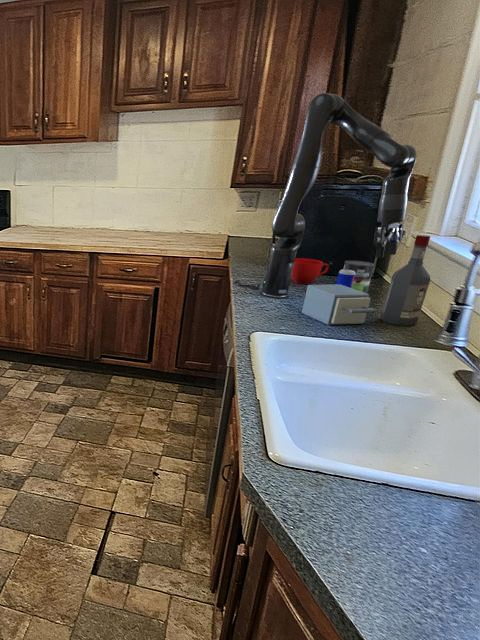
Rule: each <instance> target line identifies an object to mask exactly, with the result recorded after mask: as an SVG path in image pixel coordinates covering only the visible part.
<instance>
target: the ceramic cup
mask: <svg viewBox="0 0 480 640" xmlns="http://www.w3.org/2000/svg"><path fill="white" fill-rule="evenodd" d="M323 266H326V268H325V270H324V271H322V269H323ZM329 269H330V265H329V264H328V263H324V262H323V261H322V260H318V259H315V258H314V259H313V258H304V257H303V258H301V257H299V258H297V257H295V261H294V266H293V271H292V275H291V280H292V281H293V283H294V284H299V285H311V284H312V283H313V282H314V281H315V280H317V278H318V277H319V276H322V275H324V274H326V273H327V272H328V270H329ZM321 271H322V272H321Z"/></svg>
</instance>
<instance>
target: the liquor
mask: <svg viewBox="0 0 480 640" xmlns="http://www.w3.org/2000/svg"><path fill="white" fill-rule="evenodd" d="M430 239H431V236H430V235H425V234H417V235H416V237H415V240H414V244H413V249H412V252H411V255H410V257H409V260H408V261H407V264H405V265H403V266H402V267H400V268H399V269H398V270H396V271H394V273H393V274H392V275H391V278H390V282H389V286H388V289H387V290H388V291H387V293H386V297H385V299H384V302H383V303H384V304H383V307H382V310H381V313H380V319H381V321H382V322H384V323H387V324H390V325H395V326H399V327H400V326H402V327H408V326H414V325H416V324H417V323H418V321H419V317H420V314H421V311H422V307H423V305H424V301H425V299H426V296H427V292H428V290H429V289H428V288H429V285H430V282H431V275H430V274H429V273H428V271H427V270H426V268H425V267H424V258H425V254H426V251H427V247H428V246H429V243H430Z"/></svg>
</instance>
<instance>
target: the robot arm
mask: <svg viewBox="0 0 480 640" xmlns="http://www.w3.org/2000/svg"><path fill="white" fill-rule="evenodd" d="M328 123H330V124H333V125H335V126H337V127H339V128H341V129H342V130H344V132H346V133H347V134H348V135H349V136H350V137H351V139H352V140H353V141H354V142H355V143H356V144H358V145H359V146H361V147H362V148H364V149H365V150H366V151H368V152H369V153H371V154H372V155H373V156H374V157H375V158H376V159H377V160H378V161H379V162H380V163H381V164H383V165H384V166H386V167H388V168H390V169H389V173H388V175H387V176H386V177H385V178H384V180H383V181H382V187H381V196H380V199H379V205H378V212H377V219H376V220H377V223H380V224H381V226H376V227H375V229H374V237H373V242H372V245H373V246H375V247H376V248H375V249H376V250H375V258H377V259H378V258H379V259H380V258H381V259H382V258H384V257H385V250H386V245H387V242H388V243H389V244H388V250H387V254H388V255H389V256H395V255H396V254H397V250H398V244H399V243H400V242H402V241H403V232H404V223H403V222H405V218H406V212H407V204H408V190H409V185H410V178H411V175H412V173H413V172H414V171H413V170H414V168H415V165H416V162H417V150H416V148H415V147H414V146H413V145H411V144H401V143H398V142H397V141H395V140H394V139H392V135H391V134H390V133H388V131H386V130H384V129H383V128H381V127H380V126H378V125H377V124H375V123H373V122H372V121H370V120H368V119H367V118H365V117H364V116H363V115H361V114H360V113H358V112H357V111H356V109H354V108H353V107H351V105H350V104H349V103H348V102H347V101H346V100H345V99H344V98H343V97H342V96H341V95H339V94H336V93H329V92H322V93H319V94H317V95H315V96H314V97H313V98H312V100H311V101H310V102H309V105H308V107H307V111H306V115H305V119H304V125H303V130H302V134H301V138H300V141H299V144H298V147H297V151H296V155H295V157H294V159H293V162H292V167H291V169H290V173H289V176H288V179H287V183H286V186H285V189H284V192H283V195H282V198H281V202H280V204H279V206H278V209H277V211H276V213H275V215H274V218H273V221H272V223H271V230H272V233H273V235H274V236H275V237H276V238H278V239H277V241H276V242H275V243H274V244H273V245H272V246H271V248H270V254H269V259H268V264H267V268H266V271H265V274H264V278H260V283H258V284H257V285H254V284H243V283H241V282H240V280H235V281H234V284H238V286H241V287H249V288H254V290H259V288H260V287H262V289H261V294H262V295H263V296H265V297H268V298H274V299H285V298H287V297H288V294H289V293H288V292H289V288H290V283H291V280H292V278H291V275H292V271H293V266H294V261H295V258H297V257H296V256H297V253H298V251H299V248H300V246H301V244H302V240H303V236H304V232H305V228H306V221H305V217H304V216H303V215H302V214H301V213H298V212H299V208H300V206H301V203H302V201H303V200H304V198H306V195H307V194H308V193H309V191H310V190H311V188H312V187H313V186H314V184H315V182H316V180H317V177H318V175H319V172H320V169H321V167H322V166H321V165H322V161H323V136H324V133H325V130H326V127H327V125H328Z"/></svg>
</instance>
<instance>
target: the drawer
mask: <svg viewBox="0 0 480 640" xmlns="http://www.w3.org/2000/svg"><path fill="white" fill-rule="evenodd" d="M371 300H372V298H371V297H370V296H369V297H364V298H363V297H336V301H335V305H334V309H333V313H332V317H331V323H333V324H336V325H341V324H340V323H362V324H364V323H365V321H366V318H367V314H373V313H375V311H376V310H375V309H374V308H369V307H370V303H371Z"/></svg>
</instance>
